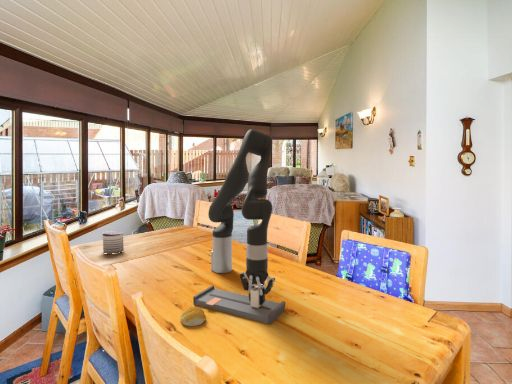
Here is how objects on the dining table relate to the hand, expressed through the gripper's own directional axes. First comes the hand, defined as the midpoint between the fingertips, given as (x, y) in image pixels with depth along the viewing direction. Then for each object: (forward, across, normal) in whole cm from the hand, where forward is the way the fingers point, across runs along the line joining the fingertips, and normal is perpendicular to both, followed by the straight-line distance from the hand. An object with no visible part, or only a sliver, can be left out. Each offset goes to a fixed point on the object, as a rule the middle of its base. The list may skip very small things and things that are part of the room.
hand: (256, 302), depth 115 cm
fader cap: (+1, 0, 0) cm, 1 cm away
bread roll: (+4, +16, +16) cm, 23 cm away
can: (+3, +108, -26) cm, 111 cm away
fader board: (+3, +8, 0) cm, 8 cm away
